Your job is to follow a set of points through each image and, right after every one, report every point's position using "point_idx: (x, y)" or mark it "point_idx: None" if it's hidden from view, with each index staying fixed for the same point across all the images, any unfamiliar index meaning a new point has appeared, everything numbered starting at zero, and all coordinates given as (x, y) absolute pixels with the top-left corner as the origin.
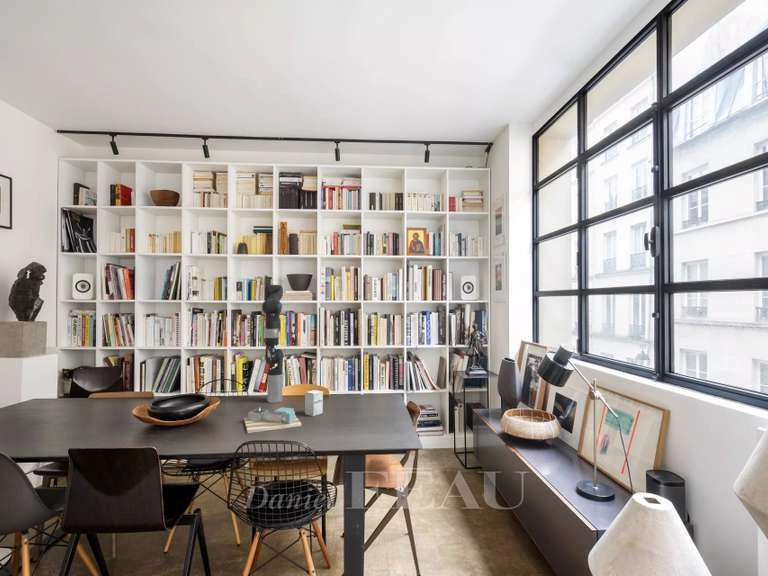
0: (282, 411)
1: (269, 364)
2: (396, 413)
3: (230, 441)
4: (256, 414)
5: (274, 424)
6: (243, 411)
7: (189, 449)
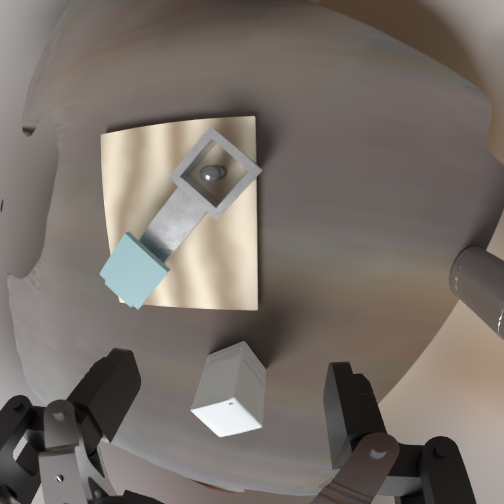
0: (108, 263)
1: (330, 371)
2: (177, 466)
3: (66, 99)
4: (183, 161)
5: (130, 223)
6: (397, 132)
7: (65, 26)
